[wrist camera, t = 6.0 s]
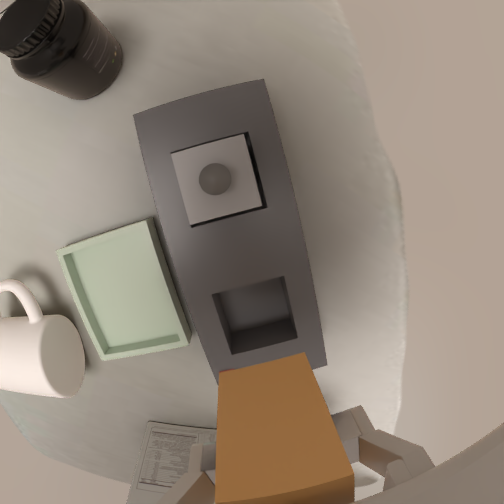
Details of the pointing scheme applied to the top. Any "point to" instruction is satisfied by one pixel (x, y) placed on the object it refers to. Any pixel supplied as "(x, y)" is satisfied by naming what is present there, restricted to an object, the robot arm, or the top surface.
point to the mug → (39, 350)
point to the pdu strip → (235, 234)
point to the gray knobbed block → (216, 179)
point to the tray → (125, 292)
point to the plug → (278, 438)
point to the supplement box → (164, 459)
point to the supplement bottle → (60, 46)
